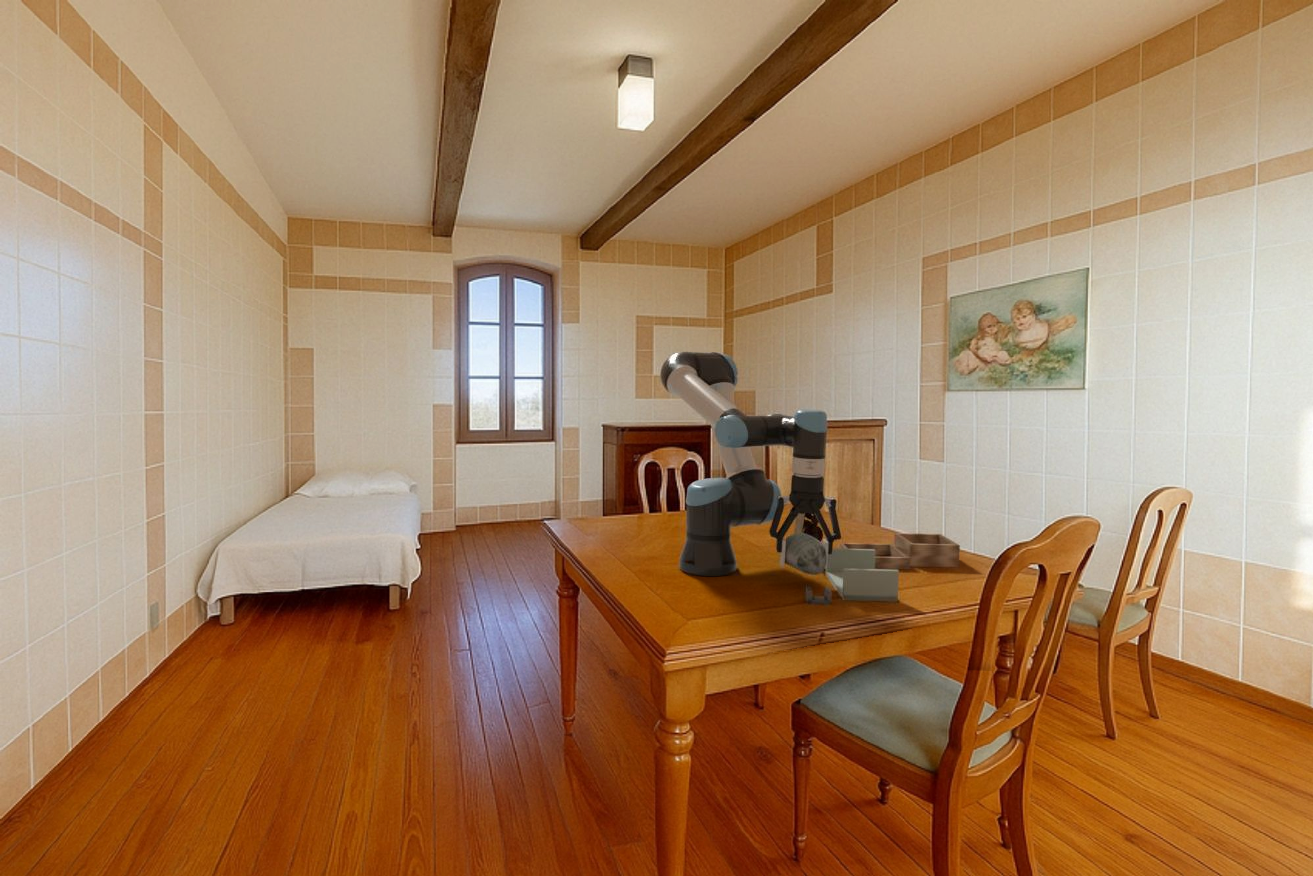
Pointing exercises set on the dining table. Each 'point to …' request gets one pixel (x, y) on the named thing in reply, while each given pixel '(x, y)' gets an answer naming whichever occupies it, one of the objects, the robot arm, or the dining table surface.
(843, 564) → the holder
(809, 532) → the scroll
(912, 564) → the frame
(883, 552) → the frame
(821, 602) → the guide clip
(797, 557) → the grey oval rock
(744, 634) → the dining table surface
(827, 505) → the robot arm
